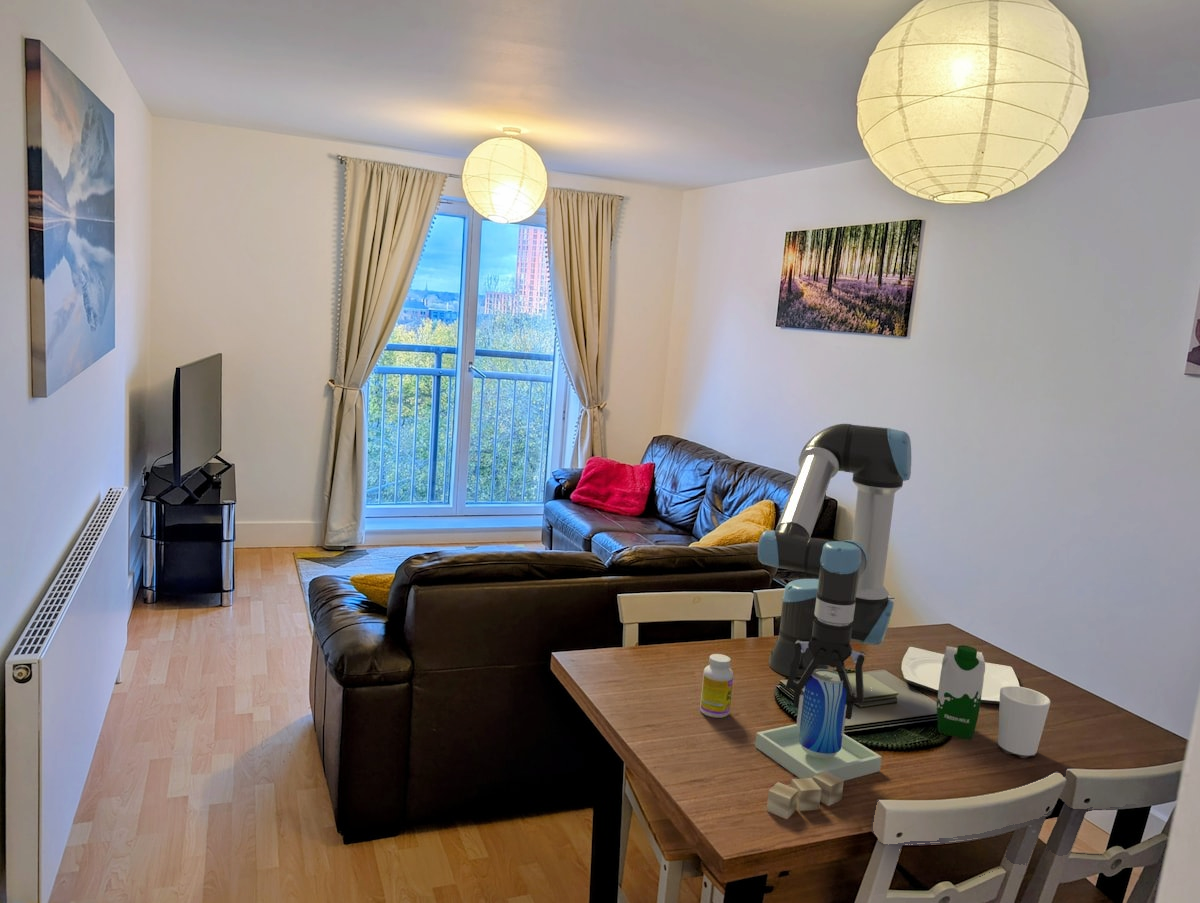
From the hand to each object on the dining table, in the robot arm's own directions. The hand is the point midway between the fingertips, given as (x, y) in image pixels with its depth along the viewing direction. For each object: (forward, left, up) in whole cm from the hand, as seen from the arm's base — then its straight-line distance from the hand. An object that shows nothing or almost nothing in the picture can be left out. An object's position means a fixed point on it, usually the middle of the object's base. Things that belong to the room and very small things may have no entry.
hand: (820, 727), depth 176 cm
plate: (-66, -17, -7) cm, 68 cm away
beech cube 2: (+15, +12, -7) cm, 20 cm away
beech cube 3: (+20, +12, -7) cm, 24 cm away
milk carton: (-40, +2, -7) cm, 41 cm away
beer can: (0, 0, -5) cm, 5 cm away
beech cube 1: (+9, +12, -7) cm, 17 cm away
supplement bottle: (+7, -25, -7) cm, 27 cm away
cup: (-45, +14, -7) cm, 48 cm away
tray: (0, 0, -7) cm, 7 cm away
